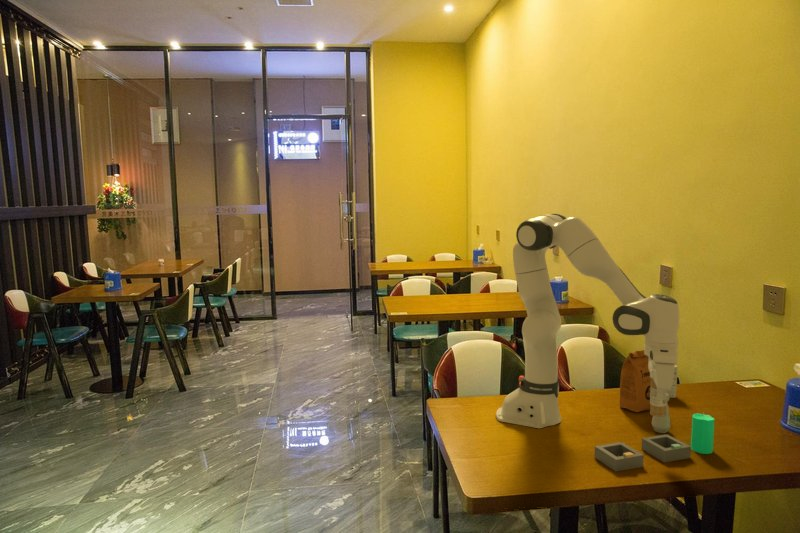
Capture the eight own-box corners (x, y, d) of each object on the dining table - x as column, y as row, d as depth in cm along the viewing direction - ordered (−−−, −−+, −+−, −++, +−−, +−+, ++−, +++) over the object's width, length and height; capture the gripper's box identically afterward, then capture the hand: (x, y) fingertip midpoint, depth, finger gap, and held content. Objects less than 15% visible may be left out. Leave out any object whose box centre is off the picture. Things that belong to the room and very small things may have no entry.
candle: (712, 455, 170) (714, 417, 169) (689, 451, 173) (691, 413, 172) (713, 448, 175) (715, 410, 174) (691, 443, 178) (693, 407, 177)
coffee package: (661, 410, 207) (664, 351, 204) (636, 415, 202) (638, 355, 199) (639, 401, 216) (642, 345, 213) (615, 406, 211) (617, 349, 208)
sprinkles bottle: (657, 411, 172) (657, 368, 171) (669, 416, 168) (670, 371, 167) (646, 413, 171) (646, 370, 169) (658, 418, 166) (658, 374, 165)
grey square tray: (664, 462, 166) (665, 448, 165) (641, 449, 175) (642, 435, 174) (690, 457, 169) (691, 443, 168) (666, 444, 178) (667, 431, 177)
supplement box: (650, 391, 228) (651, 360, 226) (669, 391, 227) (670, 361, 226) (656, 397, 220) (658, 365, 219) (676, 398, 220) (678, 366, 218)
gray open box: (615, 471, 160) (616, 457, 160) (594, 457, 169) (595, 443, 169) (643, 466, 163) (643, 452, 163) (621, 452, 172) (621, 439, 172)
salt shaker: (672, 435, 185) (674, 396, 184) (653, 433, 186) (655, 395, 185) (667, 428, 191) (669, 390, 189) (649, 426, 192) (651, 389, 190)
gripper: (644, 340, 178) (642, 383, 180) (654, 357, 159) (651, 405, 160) (666, 342, 176) (663, 385, 178) (678, 359, 157) (675, 407, 158)
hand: (657, 395), depth 169 cm, fingers closed on sprinkles bottle, 4 cm apart
